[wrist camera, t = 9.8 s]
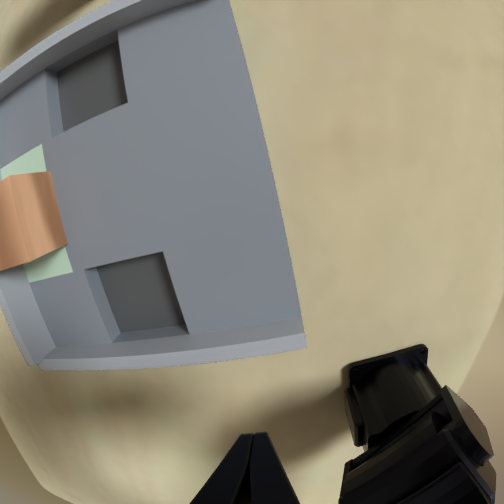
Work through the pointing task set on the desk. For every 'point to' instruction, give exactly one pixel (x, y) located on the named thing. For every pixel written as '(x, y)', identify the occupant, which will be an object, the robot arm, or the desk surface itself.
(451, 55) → the desk surface
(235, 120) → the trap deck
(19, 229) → the block
